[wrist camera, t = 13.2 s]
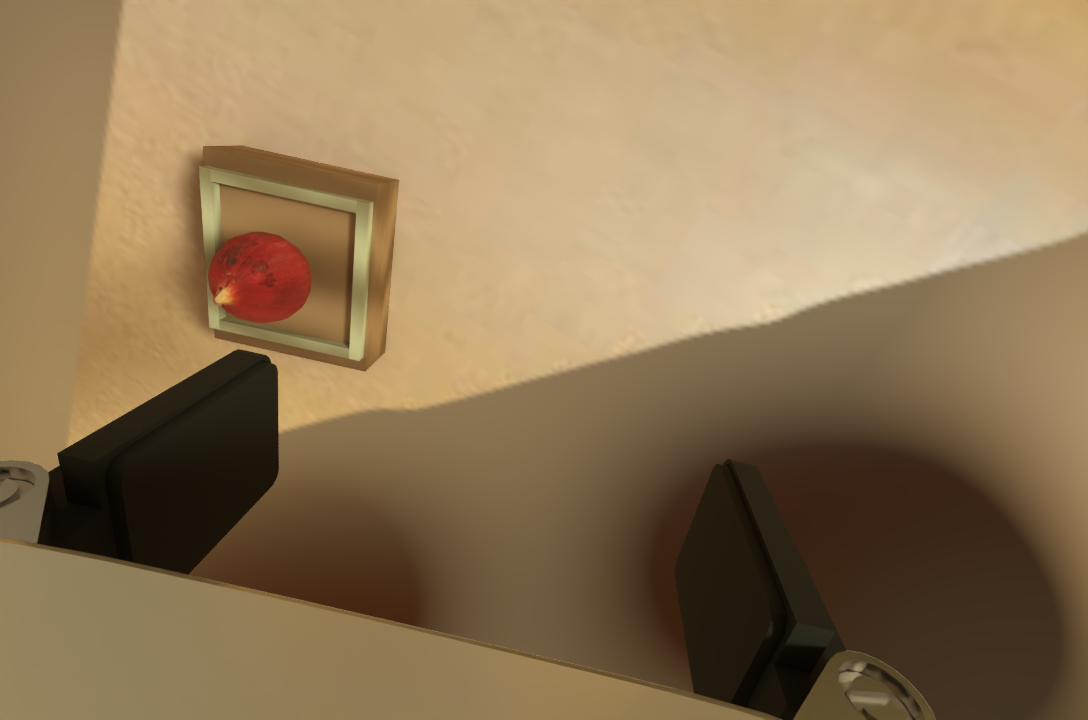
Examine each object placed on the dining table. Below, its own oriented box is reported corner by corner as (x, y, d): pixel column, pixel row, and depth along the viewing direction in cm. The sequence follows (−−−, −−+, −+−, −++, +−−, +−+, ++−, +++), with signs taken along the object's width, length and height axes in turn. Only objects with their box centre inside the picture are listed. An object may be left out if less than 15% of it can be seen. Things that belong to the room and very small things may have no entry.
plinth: (240, 145, 39) (194, 146, 34) (398, 180, 39) (372, 185, 34) (246, 321, 44) (207, 341, 40) (384, 352, 44) (360, 375, 40)
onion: (251, 217, 37) (164, 237, 29) (331, 231, 37) (263, 255, 29) (256, 297, 39) (177, 334, 32) (332, 310, 39) (269, 351, 32)
